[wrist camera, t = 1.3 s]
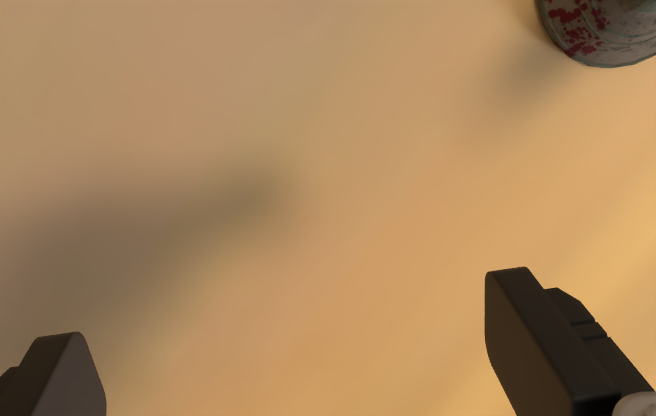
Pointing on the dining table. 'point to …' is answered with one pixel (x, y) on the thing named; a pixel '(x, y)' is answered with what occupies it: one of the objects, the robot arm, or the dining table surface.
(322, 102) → the dining table surface
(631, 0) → the candlestick holder
